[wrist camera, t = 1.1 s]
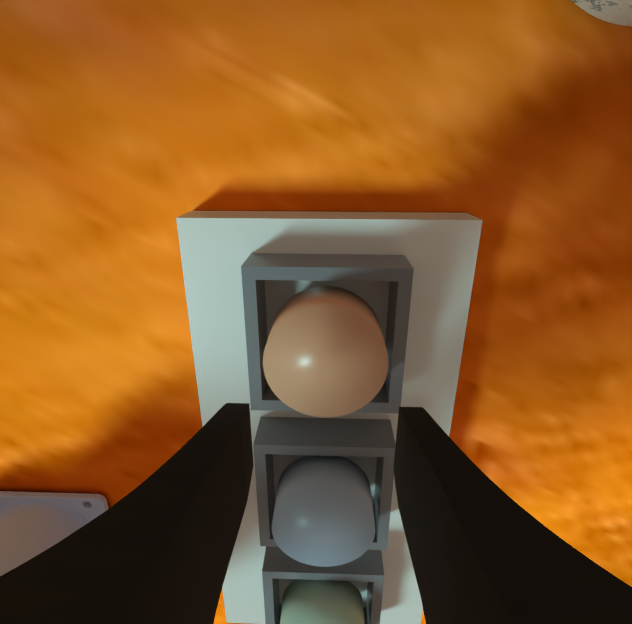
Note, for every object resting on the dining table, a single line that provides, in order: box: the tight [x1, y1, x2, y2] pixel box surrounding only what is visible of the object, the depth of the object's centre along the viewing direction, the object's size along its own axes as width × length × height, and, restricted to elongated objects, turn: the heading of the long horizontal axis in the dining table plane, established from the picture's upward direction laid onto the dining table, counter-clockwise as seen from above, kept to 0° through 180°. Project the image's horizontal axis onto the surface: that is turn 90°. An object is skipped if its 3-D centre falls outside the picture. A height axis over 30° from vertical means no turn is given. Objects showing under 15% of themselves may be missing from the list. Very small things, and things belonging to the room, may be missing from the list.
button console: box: [176, 211, 483, 624], centre depth 21 cm, size 12×25×4 cm, turn 0°
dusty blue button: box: [272, 455, 375, 567], centre depth 18 cm, size 4×4×2 cm
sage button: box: [280, 579, 364, 624], centre depth 21 cm, size 4×4×2 cm
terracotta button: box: [263, 286, 388, 417], centre depth 15 cm, size 4×4×2 cm
